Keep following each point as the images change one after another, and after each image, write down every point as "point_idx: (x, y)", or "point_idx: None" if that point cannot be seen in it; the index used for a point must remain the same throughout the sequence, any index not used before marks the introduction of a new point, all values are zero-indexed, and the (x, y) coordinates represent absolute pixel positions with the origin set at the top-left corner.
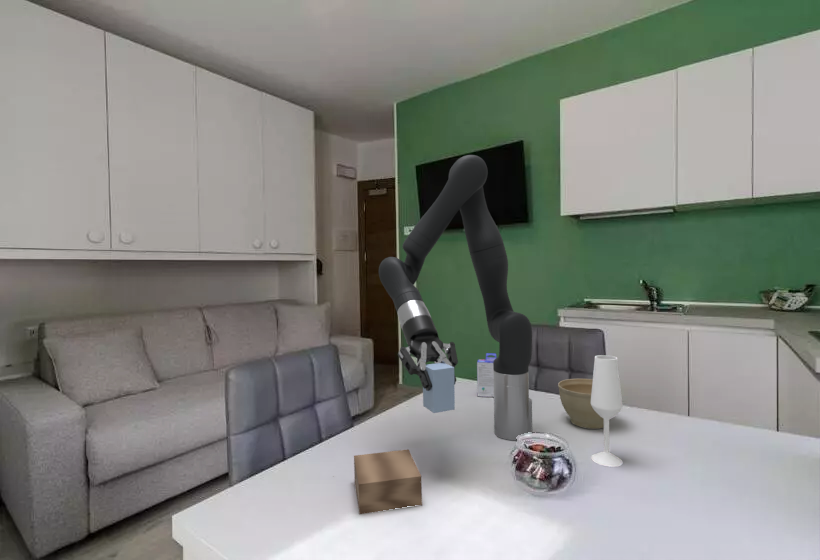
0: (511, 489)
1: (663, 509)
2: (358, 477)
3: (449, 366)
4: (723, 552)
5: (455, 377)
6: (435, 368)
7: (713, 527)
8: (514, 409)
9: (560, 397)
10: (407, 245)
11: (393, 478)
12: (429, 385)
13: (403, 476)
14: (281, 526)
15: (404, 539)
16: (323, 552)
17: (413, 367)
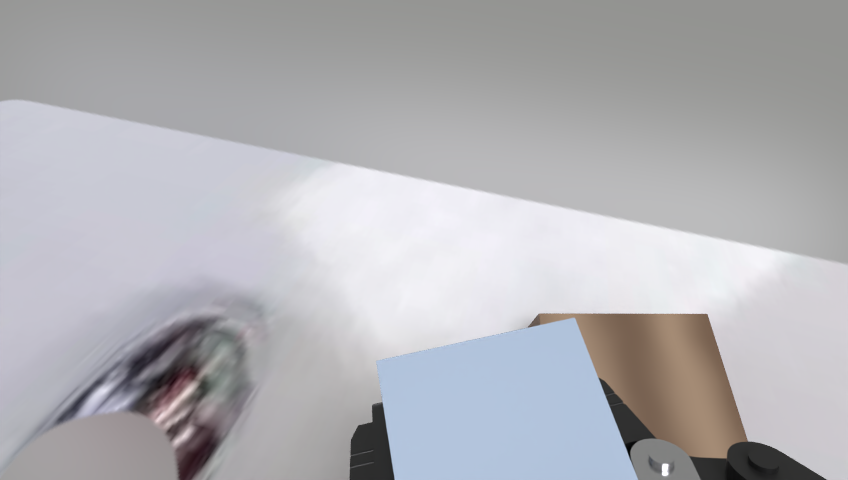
0: (294, 345)
1: (69, 210)
2: (715, 349)
3: (405, 408)
4: (112, 119)
5: (353, 448)
6: (548, 366)
7: (55, 158)
8: None
9: None
10: None
11: (615, 319)
12: None
13: (587, 323)
14: (832, 331)
15: (567, 239)
16: (711, 239)
17: (765, 449)
